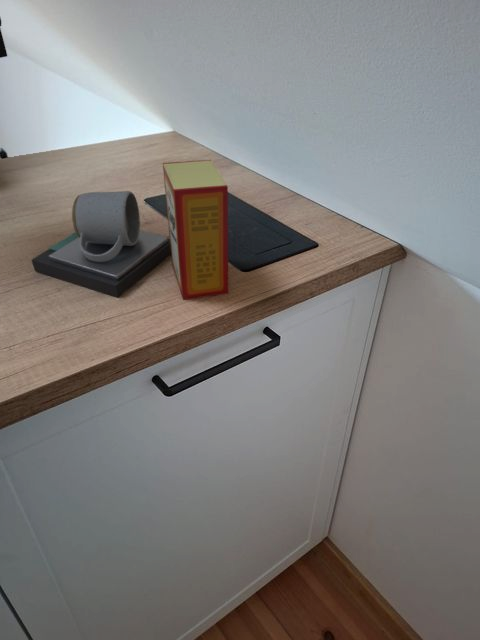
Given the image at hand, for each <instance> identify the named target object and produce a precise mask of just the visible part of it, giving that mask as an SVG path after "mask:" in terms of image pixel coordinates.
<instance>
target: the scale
mask: <svg viewBox="0 0 480 640" xmlns="http://www.w3.org/2000/svg"><path fill="white" fill-rule="evenodd" d="M77 238H79V237H78V235H77V234H76V232H74V233H71V234H70V235H68V236H67V237H65V238H63V239H62V240H60V241H59V242H57V243H55V244H53V245H52V246H50V247H49V248H48V249H47V250H45V251H43V252H42V253H40V254H39V255H36V256H34V257H33V258H31V263H32V266H33V269H34V272H35V273H39V274H42V275H45V276H48V277H52V278H54V279H58V280H61V281H63V282H68V283H70V284H74V285H77V286H80V287H82V288H86V289H89V290H93V291H96V292H99V293H102V294H105V295H108V296H112V297H115V298H120V297H121V296H122V295H123V294H124V293H126V292H127V291H128V290H130V289H131V288H132V287H133V286H135V285H136V284H137V283H138V282H139V281H140V280H142V279H143V278H145V276H147V275H148V274H149V273H150V272H152V271H153V270H154V269H156V268H157V267H158V266H160V265H161V264H162V263H163V262H164V261H165V260H167V259H168V258H169V257H170V256H171V247H170V237H168V242H167V243H166V244H165V245H163V246H162V247H161V248H160V249H158V250H157V251H156V252H154V253H153V254H152V255H150V256H149V257H148V258H147V259H145V260H144V261H143V262H141V263H140V264H139V265H137V266H136V267H135V268H134V269H132V270H131V271H130V272H128V273H127V274H126V275H124V276H123V277H122V278H121V279H119V280H118V281H116V280H112V279H109V278H106V277H103V276H99V275H96V274H93V273H89V272H86V271H83V270H80V269H76V268H73V267H70V266H66V265H63V264H60V263H57V262H53V261H50V259H49V255H51V254H52V253H54V252H56V251H57V250H59V249H61V248H62V247H64V246H65V245H67V244H69V243H70V242H72V241H74V240H75V239H77Z"/></svg>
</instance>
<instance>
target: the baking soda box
mask: <svg viewBox="0 0 480 640" xmlns="http://www.w3.org/2000/svg"><path fill="white" fill-rule="evenodd" d="M162 170H163V180H164V181H163V182H164V192H165V200H166V201H165V203H166V213H167V224H168V236H169V239H170V247H171V255H170V256H171V266H172V269H173V272H174V275H175V276H174V277H175V279H176V281H177V285H178V288H179V291H180V294H181V297H182V300H190V299H197V298H198V299H199V298H204V297H210V296H211V297H212V296H220V295H226V294H229V190H228V188H229V187H228V185H227V183H226V181H225V180H224V178H223V176H222V175H221V174H220V172H219V171H218V169H217V167H216V166H215V164H214V163H213V161H212V160H211V159H201V160H189V161H188V160H187V161H173V162H162Z"/></svg>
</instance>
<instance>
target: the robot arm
mask: <svg viewBox="0 0 480 640" xmlns="http://www.w3.org/2000/svg"><path fill="white" fill-rule="evenodd" d="M0 27H2V18H1V17H0ZM6 57H8V53H7V48H6V45H5V40H4V37H3V33H2V29H1V28H0V59H3V58H6Z"/></svg>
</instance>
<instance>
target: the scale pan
mask: <svg viewBox="0 0 480 640" xmlns="http://www.w3.org/2000/svg"><path fill="white" fill-rule="evenodd" d="M168 238H169V237H167V236H165V235H161V234H156V233H153V232H149V231H145V230H141V229H140V232H139V238H138V241H137V243H136V244H135V245H133V246H124V245H123V246H122V248H121V250H120V252H119V253H118V254H117V256H115V257H114V258H113V259H111V260H108V261H106V262H94V261H91V260H89V259H87V258H86V257H85V256H84V254H83V253H82V251H81V249H80V245H79V240H80V238H77V239H75V240H74V241H72V242H70V243H69V244H67V245H65V246H64V247H62V248H61V249H59V250H57V251H56V252H54V253H52V254H51V255H49V259H50V261H53V262H57V263H60V264H63V265H66V266H70V267H73V268H76V269H80V270H83V271H86V272H89V273H93V274H96V275H99V276H103V277H106V278H109V279H112V280H116V281H118V280H119V279H121V278H122V277H123V276H124V275H126V274H127V273H128V272H130V271H131V270H132V269H134V268H135V267H136V266H137V265H139V264H140V263H141V262H143V261H144V260H145V259H147V258H148V257H149V256H150V255H152V254H153V253H154V252H156V251H157V250H158V249H160V248H161V247H162V246H163V245H165V244H166V243H167V242H168ZM113 246H114V245H111V244H95V243H89V242H86V244H85V250H86V251H87V252H88V253H92V254H94V255H100V254H103V253H105V252H107V251H109V250H110V249H111V248H112V247H113Z"/></svg>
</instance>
